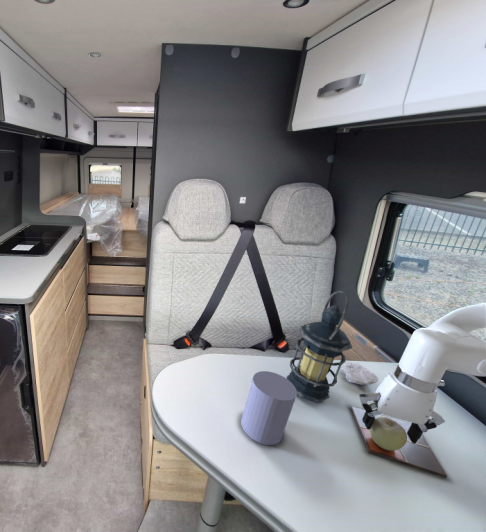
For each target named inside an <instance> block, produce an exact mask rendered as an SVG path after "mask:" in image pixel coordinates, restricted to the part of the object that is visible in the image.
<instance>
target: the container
mask: <svg viewBox="0 0 486 532" xmlns="http://www.w3.org/2000/svg"><path fill="white" fill-rule="evenodd" d="M297 396H298V394H297V390H296V388H295V386H294V385H293V384H292V383H291V382H290V381H289V380H288V379H287V377H284V376H283V375H282V374H279V373H276V372H272V371H269V370H268V371H267V370H261V371H257V372H255V373H254V375H253V377H252V380H251V383H250V386H249V390H248V393H247V398H246V401H245V405H244V409H243V412H242V415H241V420H240V424H241V427H242V429H243V432H244V433H245V434H246V435H247V436H248V437H249V438H250V439H252V440H253V441H255V442H256V443H258V444H261V445H263V446H276V445H278V444H279V443H281V441H282V438H283V435H284V433H285V430H286V428H287V424H288V422H289V418H290V416H291V412H292V410H293V406H294V404H295V402H296V399H297Z"/></svg>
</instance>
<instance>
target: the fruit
mask: <svg viewBox="0 0 486 532" xmlns="http://www.w3.org/2000/svg"><path fill="white" fill-rule="evenodd" d="M387 417H388V416H387ZM387 417H378V418H375V421H374V423H373V425H372V427H371V429H370V433H371V437H372V439H373V440H374V442H375V443H376V444H377V445H378V446H380V447H381V448H383V449H386V450H392V451H394V450H398V449H401V448H402V447H403V446H404V445H405V444H406V441H407V434H406V431H405V430H404V428H403V427H402V426H401V425H399V424H398V423H397V422H395V421H394V420H392V419H390V418H391V417H390V418H387Z"/></svg>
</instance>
